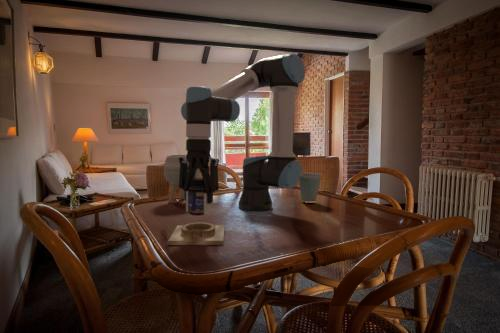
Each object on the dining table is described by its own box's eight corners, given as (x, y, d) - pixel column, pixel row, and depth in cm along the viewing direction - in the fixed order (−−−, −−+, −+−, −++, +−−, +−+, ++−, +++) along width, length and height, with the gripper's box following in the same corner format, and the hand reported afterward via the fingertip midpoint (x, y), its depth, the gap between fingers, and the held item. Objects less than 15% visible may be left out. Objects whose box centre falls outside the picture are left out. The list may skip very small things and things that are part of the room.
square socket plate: (224, 228, 107) (224, 220, 107) (223, 244, 92) (223, 234, 91) (177, 228, 107) (177, 220, 106) (167, 244, 91) (167, 234, 90)
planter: (182, 197, 162) (182, 154, 160) (205, 201, 153) (205, 155, 151) (157, 202, 149) (156, 155, 147) (180, 206, 140) (179, 156, 138)
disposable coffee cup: (297, 200, 158) (298, 170, 157) (319, 201, 157) (320, 171, 155) (298, 204, 148) (299, 173, 146) (321, 205, 146) (322, 173, 145)
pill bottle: (196, 216, 94) (196, 180, 93) (184, 213, 98) (184, 178, 97) (212, 213, 99) (212, 178, 98) (199, 210, 103) (199, 176, 102)
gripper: (231, 139, 95) (230, 213, 97) (181, 138, 104) (181, 206, 106) (218, 138, 89) (217, 218, 91) (166, 137, 97) (166, 211, 99)
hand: (198, 212), depth 98 cm, fingers closed on pill bottle, 6 cm apart
